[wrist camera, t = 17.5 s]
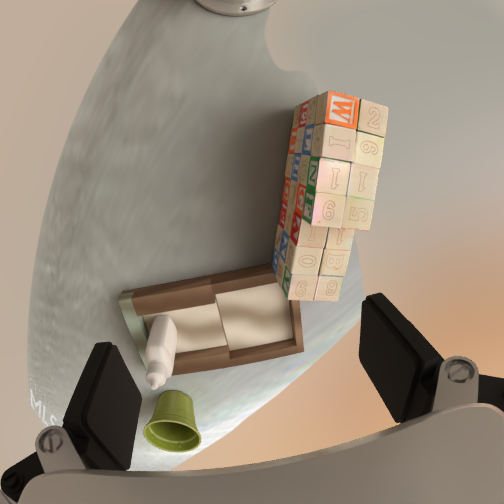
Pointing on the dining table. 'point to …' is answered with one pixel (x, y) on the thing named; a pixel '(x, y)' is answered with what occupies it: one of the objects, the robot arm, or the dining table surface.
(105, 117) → the dining table surface
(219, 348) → the divided wooden tray
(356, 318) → the dining table surface
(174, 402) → the plant pot
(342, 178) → the stack of blocks
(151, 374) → the eye dropper bottle
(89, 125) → the dining table surface
